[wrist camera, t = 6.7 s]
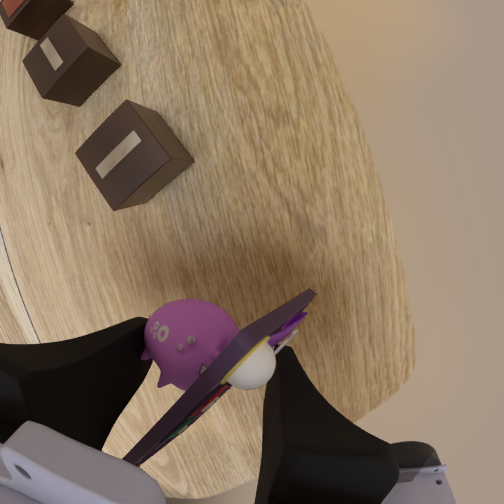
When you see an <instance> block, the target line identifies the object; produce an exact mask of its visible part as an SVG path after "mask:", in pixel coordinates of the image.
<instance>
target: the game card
mask: <svg viewBox="0 0 504 504" xmlns="http://www.w3.org/2000/svg"><path fill="white" fill-rule="evenodd" d="M316 295H317V294H316V293H315V292H313V291H312V290H311V289H310V288H309V289H307V290H306V291H304V292H303V293H301V294H299V295H298V296H296V297H295V298H293V299H291V300H290V301H288V302H286V303H285V304H283V305H282V306H280V307H278V308H277V309H275V310H273V311H272V312H270V313H268V314H267V315H265V316H263V317H262V318H260V319H258V320H257V321H255V322H253V323H252V324H250V325H248V326H246V327H245V328H244V329H242V330H241V331H239V329H238V327H237V325H236V323H235V322H234V320H233V319H232V318H231V316H230V315H229V314H228V313H227V312H226V311H225V310H223V309H222V308H221V307H219V306H217V305H215V304H213V303H211V302H208V301H205V300H200V299H181V300H176V301H173V302H170V303H167V304H165V305H164V306H162V307H160V308H159V309H158V310H156V311H155V312H154V313H153V314H152V315H151V316H150V315H149V320H148V322H147V324H146V326H145V331H144V341H145V349H144V351H143V353H142V355H141V360H147V359H150V358H152V359H153V360H154V361H155V362H156V364H157V365H158V367H159V368H160V371H161V375H160V378H159V382H158V386H157V387H158V388H161V387H163V386H165V385H168V384H170V383H171V384H173V385H175V386H176V387H178V388H180V389H182V390H184V391H186V392H185V393H184V394H183V395H182V396H181V397H180V398H179V399H178V401H177V402H176V403H175V404H174V405H173V406H172V407H171V408H170V409H169V410H168V411H167V412H166V414H165V415H164V416H163V417H162V418H161V419H160V420H159V421H158V422H157V423H156V424H155V425H154V426H153V427H152V428H151V429H150V431H149V432H148V433H147V434H146V435H145V436H144V437H143V438H142V439H141V440H140V441H139V442H138V443H137V444H136V445H135V446H134V447H133V448H132V449H131V450H130V451H129V452H128V454H127V455H126V456H125V457H124V458H123V459H122V460H124V461H126V462H128V463H130V464H132V465H134V466H137V467H140V465H141V464H142V463H144V462H145V461H146V460H148V459H149V458H150V457H151V456H153V455H154V454H155V453H157V452H158V451H159V450H160V449H162V448H163V447H164V446H166V445H167V444H168V443H169V442H171V441H172V440H173V439H174V438H176V437H177V436H178V435H179V434H181V433H183V432H184V431H185V430H186V429H187V428H188V427H189V426H190V425H191V424H193V423H194V422H195V421H196V420H197V419H198V418H199V417H200V416H201V415H203V414H204V413H205V412H206V411H207V410H208V409H209V408H210V407H211V406H212V405H213V404H214V403H215V402H216V401H217V400H218V399H219V398H220V397H221V396H222V395H223V394H224V393H225V392H226V391H227V390H229V389H230V388H231V386H232V385H233V386H234V387H237V388H240V389H245V390H250V389H256V388H258V387H261V386H262V385H264V384H265V383H267V382H268V381H269V380H270V378H271V377H272V375H273V373H274V370H275V366H276V359H275V355H276V354H277V353H278V352H279V351H280V350H281V349H282V348H283V347H284V346H285V345H286V344H287V343H288V342H289V340H290V339H291V338H292V337H293V336H294V335H295V334H296V333H297V332H298V331H299V330H296V331H295V332H293V333H292V334H291V336H289V337H288V338H287V339H286V340H285V341H284V342H283V343H282V344H281V345H280V346H279V347H278V348H277V349H276V350H275V351H273V349H272V347H273V346H275V345H276V344H277V343H279V342H280V341H282V340H283V339H284V338H286V337H287V336H288V335H289V334H290V333H291V332H292V331H293V329H294V328H295V327H296V326H297V325H298V324H299V323H300V322H301V321H302V320H303V319H304V317H305V316H306V315H307V314H308V312H302V311H303V310H304V309H305V308H306V307H307V305H308V304H309V303H310V302H311V301H312V300H313V299H314V298H315V296H316ZM301 312H302V313H301Z"/></svg>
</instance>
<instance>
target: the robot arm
mask: <svg viewBox="0 0 504 504" xmlns="http://www.w3.org/2000/svg"><path fill="white" fill-rule="evenodd" d="M148 320H149V319H147V318H143V317H136V318H132V319H129V320H127V321H124V322H121V323H119V324H116V325H114V326H111V327H108V328H105V329H103V330H100V331H97V332H94V333H91V334H87V335H84V336H81V337H77V338H73V339H69V340H64V341H58V342H51V343H42V344H4V343H0V504H166V497H165V494H164V493H163V491H162V489H161V487H160V485H159V484H158V482H157V481H156V480H155V479H153V478H152V477H151V476H150V475H148V474H147V473H146V472H145V471H143V470H142V469H141V468H139V467H137V466H134V465H132V464H130V463H128V462H126V461H124V460H122V459H120V458H117V457H114V456H112V455H109V454H107V453H104V452H101V450H102V448H103V446H104V444H105V441H106V439H107V437H108V435H109V433H110V431H111V429H112V427H113V425H114V424H115V422H116V420H117V419H118V417H119V415H120V414H121V413H122V411H123V410H124V408H125V407H126V405H127V404H128V403H129V401H130V400H131V398H132V397H133V395H134V394H135V393H136V391H137V390H138V388H139V387H140V385H141V384H142V382H143V381H144V379H145V377H146V375H147V373H148V371H149V369H150V367H151V364H152V362H153V359H152V358H150V359H147V360H141V355H142V353H143V351H144V349H145V341H144V331H145V326H146V324H147V322H148ZM279 346H280V345H277V344H276V345H275V347H274V351H275V350H276V349H277V348H278V347H279ZM275 359H276V366H275V370H274V373H273V375H272V377H271V378H270V380H269V381H268V382H267V385H266V391H265V398H264V405H263V435H262V458H261V466H260V472H259V479H258V485H257V491H256V498H255V503H254V504H456V502H455V499H454V496H453V494H452V491H451V488H450V486H449V483H448V481H447V478H446V476H445V473H444V472H445V471H446V469H447V465H445V464H444V465H435V466H425V467H413V468H398V465H397V461H396V458H395V455H394V453H393V451H392V448H391V446H390V444H389V443H387V442H385V441H383V440H381V439H379V438H377V437H375V436H373V435H371V434H369V433H368V432H366V431H364V430H363V429H361V428H360V427H358V426H356V425H355V424H353V423H352V422H351V421H349V420H348V419H347V418H345V417H344V416H343V415H342V414H340V413H339V412H338V411H337V410H336V409H335V408H334V407H332V406H331V405H330V404H329V403H328V402H327V400H326V399H325V398H324V397H323V396H322V395H321V394H320V393H319V392H318V390H317V389H316V388H315V386H314V385H313V384H312V382H311V381H310V379H309V378H308V376H307V375H306V373H305V371H304V370H303V368H302V366H301V364H300V363H299V361H298V359H297V357H296V355H295V353H294V350H293V349H292V347H290V346H284V347H283V348H282V349H281V350H280V351H279V352H278V353H277V354H276V355H275Z"/></svg>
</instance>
